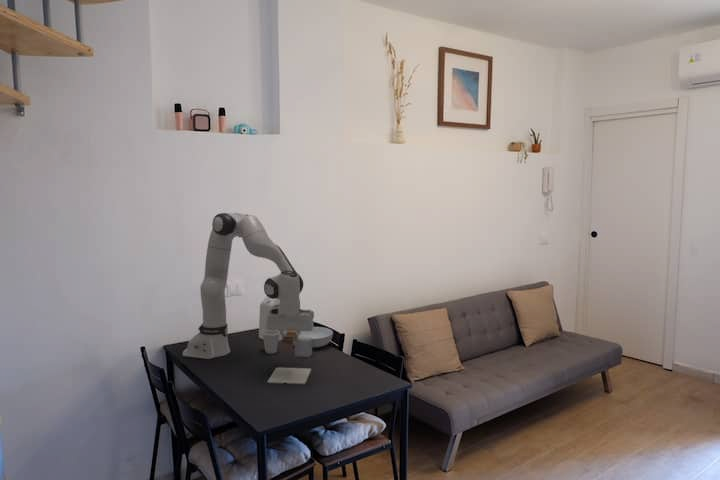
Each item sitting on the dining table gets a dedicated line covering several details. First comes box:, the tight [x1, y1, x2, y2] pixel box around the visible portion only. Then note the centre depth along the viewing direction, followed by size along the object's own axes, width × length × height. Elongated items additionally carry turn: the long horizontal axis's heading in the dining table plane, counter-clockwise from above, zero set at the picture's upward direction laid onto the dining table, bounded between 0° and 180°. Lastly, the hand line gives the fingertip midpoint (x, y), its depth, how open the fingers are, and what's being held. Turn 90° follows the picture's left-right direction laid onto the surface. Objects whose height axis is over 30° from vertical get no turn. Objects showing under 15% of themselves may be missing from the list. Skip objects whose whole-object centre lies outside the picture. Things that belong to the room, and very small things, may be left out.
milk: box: [258, 295, 288, 342], centre depth 265 cm, size 12×12×26 cm
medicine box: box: [294, 337, 313, 358], centre depth 239 cm, size 8×4×9 cm, turn 84°
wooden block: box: [282, 331, 297, 349], centre depth 212 cm, size 12×4×4 cm, turn 176°
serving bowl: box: [297, 326, 334, 349], centre depth 255 cm, size 21×21×7 cm
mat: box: [267, 367, 312, 385], centre depth 214 cm, size 16×16×1 cm
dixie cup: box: [262, 330, 279, 354], centre depth 244 cm, size 8×8×10 cm
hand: (290, 340), depth 212 cm, fingers closed on wooden block, 4 cm apart
